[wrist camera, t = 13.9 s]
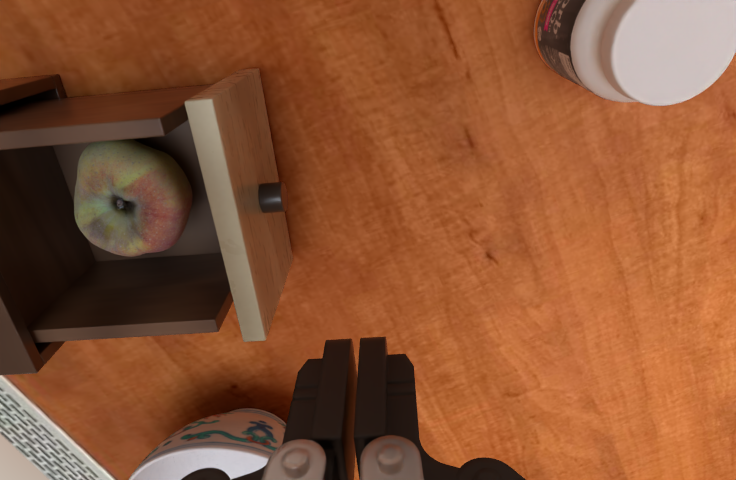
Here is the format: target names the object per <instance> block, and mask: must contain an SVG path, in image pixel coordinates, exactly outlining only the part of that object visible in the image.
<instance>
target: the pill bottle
mask: <svg viewBox="0 0 736 480" xmlns="http://www.w3.org/2000/svg"><path fill="white" fill-rule="evenodd" d="M534 41H535V45H536V48H537V51H538V53H539V55H540V57H541V59H542V60H543V61H544V63H545V64H546V65H547V66H548V67H549V68H550V69H552V70H553V71H554V72H556V73H557V74H559V75H561V76H563V77H564V78H566V79H568V80H570V81H572V82H574V83H576V84H578V85H580V86H582V87H583V88H585V89H587V90H589V91H591V92H592V93H594V94H596V95H597V96H599V97H601V98H604V99H607V100H611V101H617V102H639V103H643V104H647V105H653V106H667V105H673V104H677V103H680V102H683V101H686V100H688V99H690V98H692V97H694V96H696V95H698V94H700V93H701V92H703V91H704V90H706V89H707V88H708V87H709V86H711V85H712V84H713V83H714V82H715V81H716V80H717V79H718V78H719V77H720V76H721V75H722V73H723V72H724V71H725V69H726V68H727V67H728V65H729V64H730V62H731V60H732V58H733V56H734V54H735V52H736V0H542V1H541V3H540V5H539V7H538V10H537V13H536V17H535V22H534Z"/></svg>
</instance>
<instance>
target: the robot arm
mask: <svg viewBox="0 0 736 480" xmlns="http://www.w3.org/2000/svg"><path fill="white" fill-rule="evenodd" d="M292 399H293V400H292V402H291V406H290V411H289V415H288V420H287V424H286V429H285V433H284V438H283V442H282V445H281V446H280V447H278V448H277V449H276V450H275V451H274V452H273V453H272V454H271V456H270V457H269V459H268V461H267V464H266V466H264V467H263V468H261V469H259V470H257V471H255V472H252V473H249V474H246V475H243V476H240V477H237V478H234V479H231V480H354V467H355V451H356V458H357V465H358V472H359V479H360V480H525V479H524V478H523V477H522V476H521V475H519V474H518V473H517V472H516V471H515V470H513V469H512V468H511V467H510V466H508V465H507V464H505V463H503V462H501V461H499V460H496V459H492V458H476V459H473V460H470V461H468V462H466V463H465V464H464V465H462V466H461V468H457V467H453V466H450V465H446V464H443V463H440V462H438V461H436V460H434V459H433V458H431V457H430V456H429V455H428V454H427V453H426V452H425V451H424V449H423V448H422V446H421V443H420V440H419V430H418V417H417V404H416V391H415V378H414V366H413V364H412V363H411V362H410V360H409V359H408V357H407V356H406V354H394V355H388V352H387V342H386V337H372V338H361V339H360V349H359V363H358V378H357V371H356V364H355V356H354V348H353V342H352V339H338V340H326V342H325V347H324V353H323V358H322V359H308V360H307V362H306V363H305V364H304V365H303V367H302V368H301V369H300V370H299V372H298V375H297V380H296V384H295V389H294V393H293V398H292ZM181 480H230V478H229V476H228V475H227V474H226V473H225V472H224V471H223V470H221V469H218V468H203V469H199V470H196V471H194V472H191V473H190V474H188V475H186V476H185V477H184V478H182V479H181Z"/></svg>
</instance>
